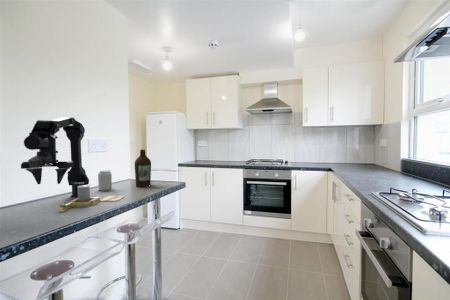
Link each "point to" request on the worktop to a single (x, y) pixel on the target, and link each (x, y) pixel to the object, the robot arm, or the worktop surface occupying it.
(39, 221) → the worktop surface
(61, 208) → the yellow l-shaped bracket
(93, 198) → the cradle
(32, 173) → the robot arm
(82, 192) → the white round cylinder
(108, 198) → the wooden panel
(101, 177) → the can
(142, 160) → the olive oil
